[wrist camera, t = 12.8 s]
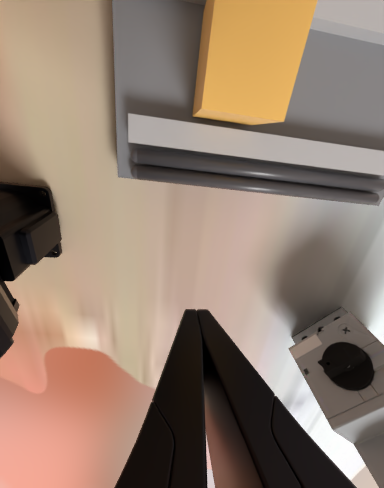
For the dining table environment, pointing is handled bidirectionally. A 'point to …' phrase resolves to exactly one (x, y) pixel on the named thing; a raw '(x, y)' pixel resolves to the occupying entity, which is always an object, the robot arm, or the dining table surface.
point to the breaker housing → (261, 135)
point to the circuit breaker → (347, 382)
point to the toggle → (250, 58)
